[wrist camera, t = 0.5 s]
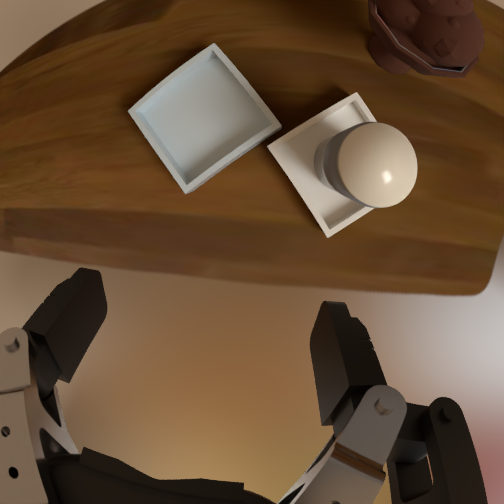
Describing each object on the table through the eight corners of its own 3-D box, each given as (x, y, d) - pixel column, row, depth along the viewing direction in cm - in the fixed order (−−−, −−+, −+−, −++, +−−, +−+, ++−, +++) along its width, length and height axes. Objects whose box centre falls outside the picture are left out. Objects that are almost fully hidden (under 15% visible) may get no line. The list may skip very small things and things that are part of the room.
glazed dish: (219, 51, 23) (214, 42, 21) (281, 129, 26) (281, 125, 23) (138, 114, 26) (127, 111, 24) (193, 191, 28) (185, 193, 26)
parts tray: (351, 96, 24) (356, 92, 22) (403, 182, 26) (411, 183, 24) (267, 147, 26) (267, 146, 24) (324, 232, 28) (327, 237, 26)
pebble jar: (348, 125, 24) (390, 104, 14) (378, 173, 25) (432, 183, 15) (302, 154, 25) (318, 147, 15) (333, 202, 26) (366, 227, 16)
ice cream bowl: (324, 45, 22) (357, -37, 8) (381, 1, 19) (430, -67, 5) (398, 115, 24) (487, 89, 9) (446, 65, 20) (526, 30, 6)
